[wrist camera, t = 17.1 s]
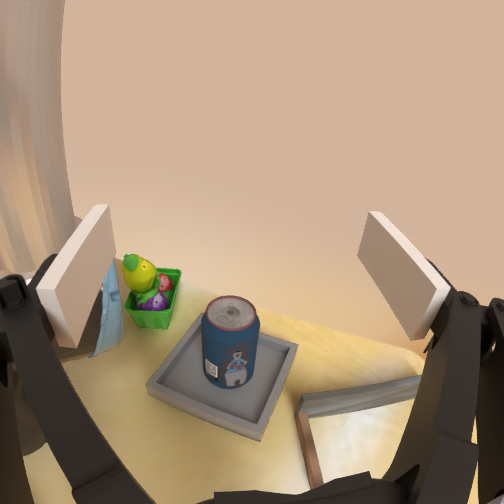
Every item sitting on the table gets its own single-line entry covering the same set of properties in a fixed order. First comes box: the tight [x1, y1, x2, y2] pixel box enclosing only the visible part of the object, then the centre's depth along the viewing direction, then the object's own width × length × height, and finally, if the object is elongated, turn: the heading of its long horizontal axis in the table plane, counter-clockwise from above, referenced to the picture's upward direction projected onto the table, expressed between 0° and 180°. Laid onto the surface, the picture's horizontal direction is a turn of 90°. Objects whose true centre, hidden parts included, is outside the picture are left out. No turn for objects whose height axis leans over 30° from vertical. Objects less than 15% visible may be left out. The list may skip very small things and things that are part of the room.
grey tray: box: [146, 313, 298, 442], centre depth 42 cm, size 16×16×2 cm
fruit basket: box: [122, 254, 181, 329], centre depth 50 cm, size 11×9×11 cm
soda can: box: [201, 296, 260, 389], centre depth 39 cm, size 7×7×12 cm
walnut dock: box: [295, 375, 422, 489], centre depth 33 cm, size 12×22×5 cm, turn 96°
